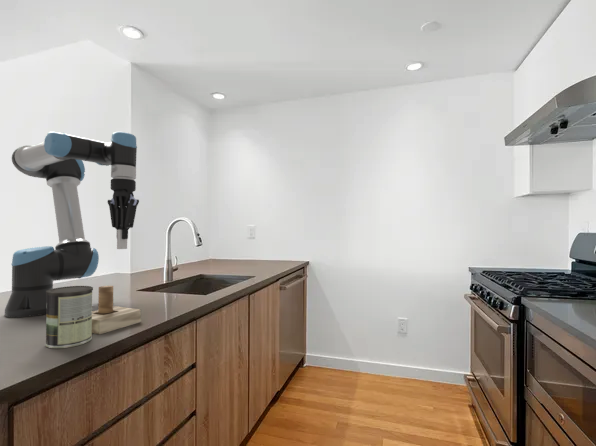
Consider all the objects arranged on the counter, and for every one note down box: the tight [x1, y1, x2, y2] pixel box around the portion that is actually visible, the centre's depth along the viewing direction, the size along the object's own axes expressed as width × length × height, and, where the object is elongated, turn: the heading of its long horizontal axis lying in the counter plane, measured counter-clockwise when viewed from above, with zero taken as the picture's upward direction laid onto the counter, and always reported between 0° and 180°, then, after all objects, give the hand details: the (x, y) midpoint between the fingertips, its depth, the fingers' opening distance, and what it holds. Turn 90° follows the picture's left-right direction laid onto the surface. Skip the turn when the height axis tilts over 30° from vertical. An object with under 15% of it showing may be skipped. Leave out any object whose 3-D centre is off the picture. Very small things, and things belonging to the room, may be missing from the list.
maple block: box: [92, 305, 142, 335], centre depth 103 cm, size 12×14×4 cm
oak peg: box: [97, 285, 114, 315], centre depth 104 cm, size 4×4×12 cm
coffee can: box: [45, 285, 94, 350], centre depth 89 cm, size 10×10×14 cm
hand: (122, 248), depth 112 cm, fingers closed
